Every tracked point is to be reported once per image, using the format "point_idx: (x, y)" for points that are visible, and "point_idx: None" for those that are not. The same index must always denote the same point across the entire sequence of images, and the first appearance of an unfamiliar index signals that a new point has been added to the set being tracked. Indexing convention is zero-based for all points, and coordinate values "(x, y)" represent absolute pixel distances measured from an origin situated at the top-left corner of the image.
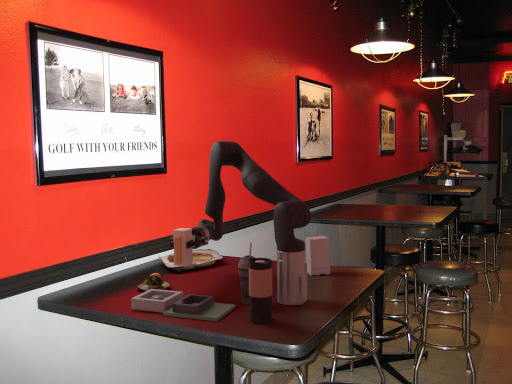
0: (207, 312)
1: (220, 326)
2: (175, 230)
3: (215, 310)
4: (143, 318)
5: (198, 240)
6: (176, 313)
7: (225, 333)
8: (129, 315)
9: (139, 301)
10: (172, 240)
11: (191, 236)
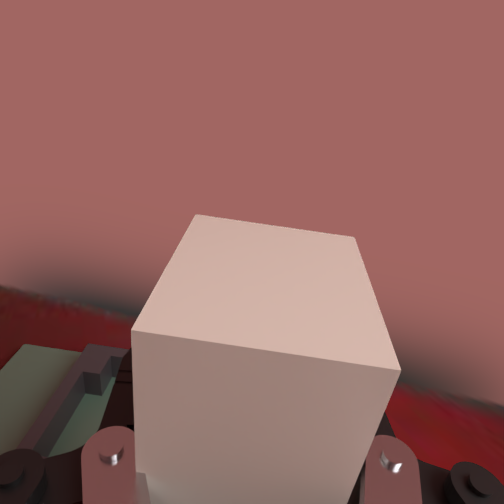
0: (53, 384)
1: (20, 324)
2: (320, 233)
3: (17, 407)
4: None
5: (24, 454)
6: None
7: (14, 293)
8: None
9: None
10: (449, 492)
11: (141, 424)
